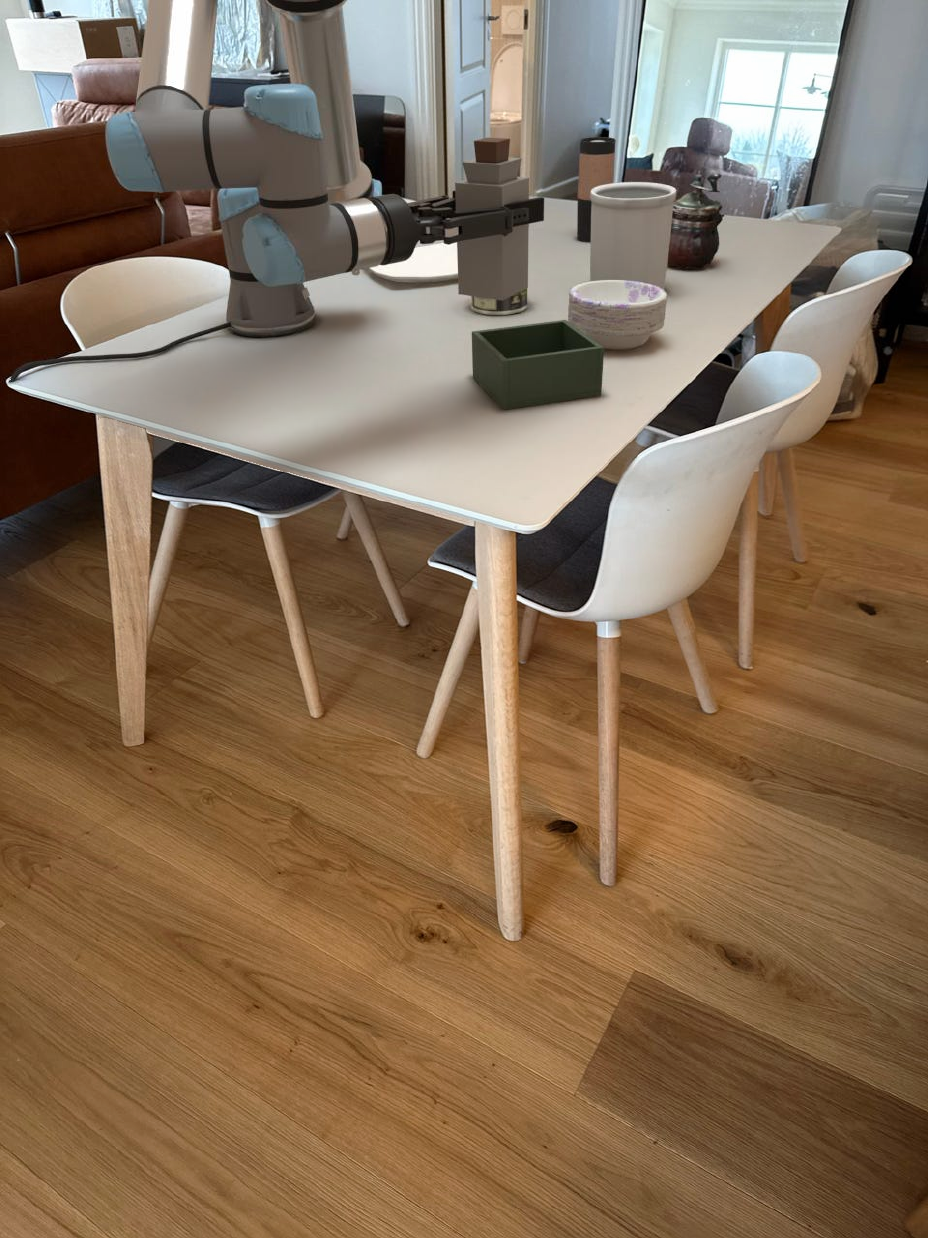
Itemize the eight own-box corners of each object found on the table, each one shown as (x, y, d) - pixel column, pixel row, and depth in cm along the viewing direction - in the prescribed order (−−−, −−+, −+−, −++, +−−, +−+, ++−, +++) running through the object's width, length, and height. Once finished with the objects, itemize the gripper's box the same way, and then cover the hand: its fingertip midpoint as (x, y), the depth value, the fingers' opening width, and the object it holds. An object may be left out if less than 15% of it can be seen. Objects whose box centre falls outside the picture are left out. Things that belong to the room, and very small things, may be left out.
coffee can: (531, 299, 166) (532, 217, 158) (523, 316, 157) (524, 230, 149) (476, 298, 168) (474, 216, 159) (465, 314, 159) (463, 229, 151)
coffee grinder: (681, 279, 174) (692, 176, 164) (647, 261, 186) (655, 164, 176) (740, 272, 177) (754, 171, 167) (703, 255, 189) (714, 159, 178)
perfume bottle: (527, 287, 121) (529, 137, 111) (502, 300, 117) (501, 144, 107) (485, 281, 125) (482, 134, 114) (458, 293, 120) (453, 141, 110)
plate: (507, 277, 179) (507, 262, 178) (389, 293, 172) (388, 278, 171) (461, 250, 198) (461, 238, 196) (354, 264, 191) (352, 251, 189)
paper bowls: (676, 333, 147) (681, 283, 143) (641, 362, 137) (646, 309, 132) (590, 321, 154) (592, 273, 149) (551, 348, 143) (552, 296, 139)
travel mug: (570, 236, 206) (574, 138, 195) (601, 233, 208) (606, 135, 196) (584, 243, 200) (588, 142, 189) (615, 240, 202) (622, 140, 190)
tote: (502, 410, 123) (502, 361, 119) (472, 377, 134) (471, 331, 130) (601, 395, 126) (604, 347, 122) (564, 364, 137) (565, 319, 133)
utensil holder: (629, 308, 160) (637, 200, 150) (569, 291, 169) (573, 189, 159) (683, 291, 167) (694, 188, 157) (623, 276, 177) (629, 178, 167)
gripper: (334, 251, 115) (477, 223, 126) (422, 281, 102) (573, 248, 113) (327, 187, 111) (475, 164, 122) (418, 210, 98) (576, 182, 109)
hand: (522, 204), depth 117 cm, fingers closed on perfume bottle, 7 cm apart
